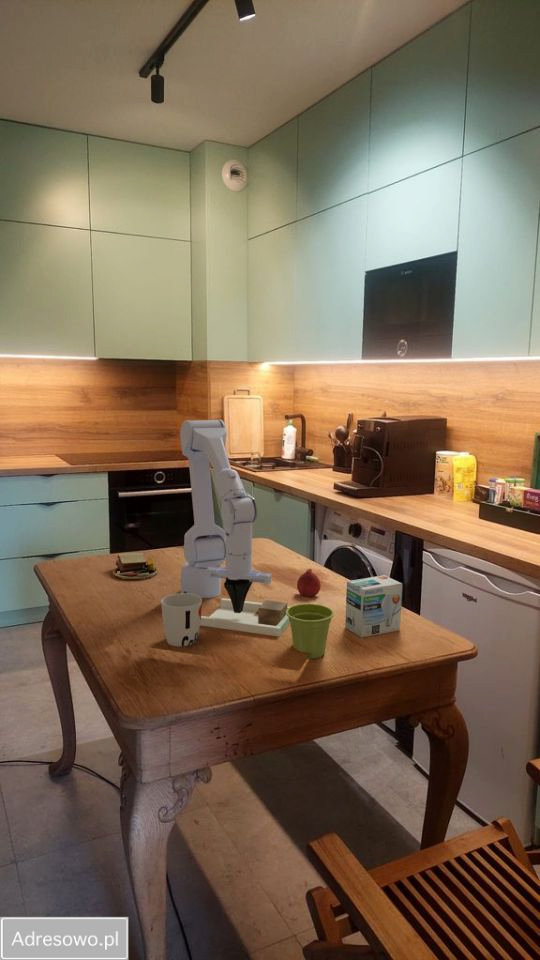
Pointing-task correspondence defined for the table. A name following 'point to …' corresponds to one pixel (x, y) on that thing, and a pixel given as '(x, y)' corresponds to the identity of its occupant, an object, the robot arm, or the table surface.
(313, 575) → the onion
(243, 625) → the tray
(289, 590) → the table surface
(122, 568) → the toy sandwich meal
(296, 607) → the plant pot
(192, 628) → the cup
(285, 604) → the block
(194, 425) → the robot arm
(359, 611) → the light bulb box
